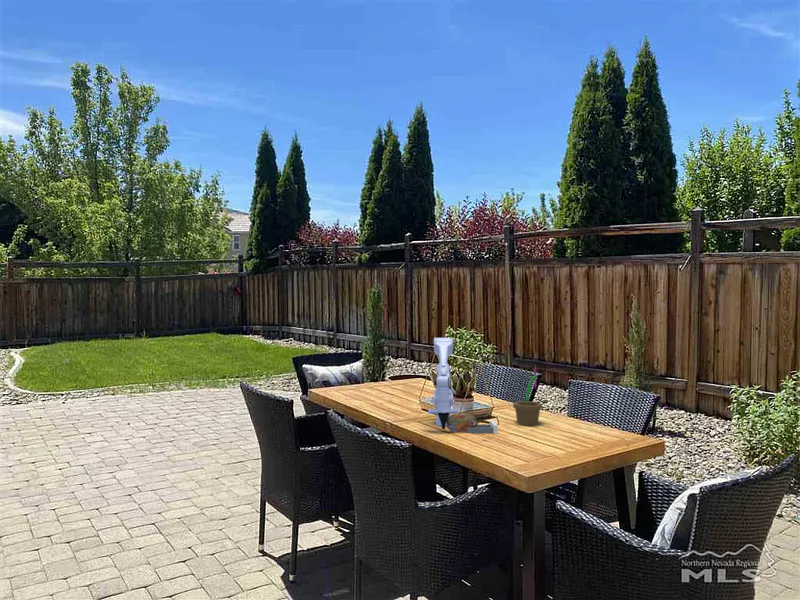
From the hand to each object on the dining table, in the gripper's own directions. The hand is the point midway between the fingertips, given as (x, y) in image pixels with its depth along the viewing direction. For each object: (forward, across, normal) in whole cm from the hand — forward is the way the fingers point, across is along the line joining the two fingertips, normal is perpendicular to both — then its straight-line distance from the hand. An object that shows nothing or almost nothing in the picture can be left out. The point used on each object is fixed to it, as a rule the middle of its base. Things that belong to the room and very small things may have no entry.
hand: (443, 428), depth 283 cm
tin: (+2, +9, 0) cm, 9 cm away
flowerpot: (+2, +45, +15) cm, 47 cm away
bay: (+2, +17, 0) cm, 17 cm away
